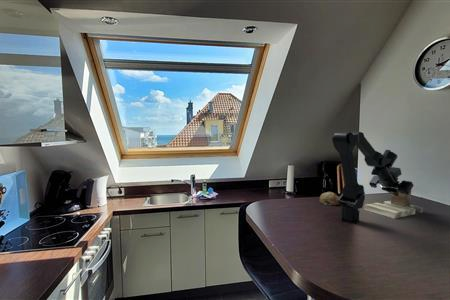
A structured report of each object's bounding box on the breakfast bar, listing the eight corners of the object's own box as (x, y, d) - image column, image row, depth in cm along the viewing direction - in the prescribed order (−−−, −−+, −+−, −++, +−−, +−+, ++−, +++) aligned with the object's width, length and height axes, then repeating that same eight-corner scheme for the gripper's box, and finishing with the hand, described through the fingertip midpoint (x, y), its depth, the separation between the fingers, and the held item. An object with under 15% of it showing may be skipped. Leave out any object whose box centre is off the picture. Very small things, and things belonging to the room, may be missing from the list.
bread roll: (318, 209, 147) (317, 197, 144) (321, 198, 155) (320, 186, 152) (338, 212, 143) (338, 200, 139) (340, 200, 151) (340, 188, 147)
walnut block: (402, 207, 132) (404, 186, 131) (390, 203, 138) (391, 184, 137) (410, 205, 135) (411, 185, 134) (398, 202, 140) (399, 183, 139)
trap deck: (394, 218, 122) (394, 213, 122) (364, 209, 136) (364, 204, 135) (422, 212, 132) (422, 207, 132) (391, 204, 145) (392, 200, 145)
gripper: (412, 164, 122) (425, 186, 128) (374, 160, 139) (386, 179, 145) (400, 182, 120) (414, 204, 125) (363, 176, 136) (376, 195, 142)
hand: (396, 195), depth 134 cm, fingers closed
